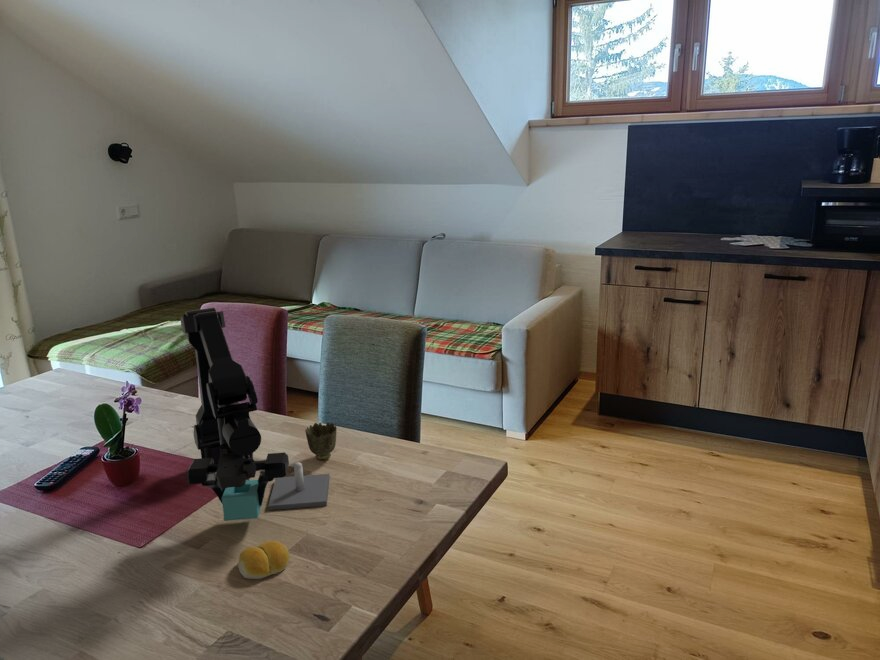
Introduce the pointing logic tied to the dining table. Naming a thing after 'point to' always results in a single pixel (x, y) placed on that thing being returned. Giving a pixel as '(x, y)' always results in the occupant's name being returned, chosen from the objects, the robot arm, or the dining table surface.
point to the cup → (321, 440)
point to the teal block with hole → (241, 501)
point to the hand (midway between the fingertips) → (243, 506)
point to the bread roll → (263, 560)
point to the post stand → (299, 490)
